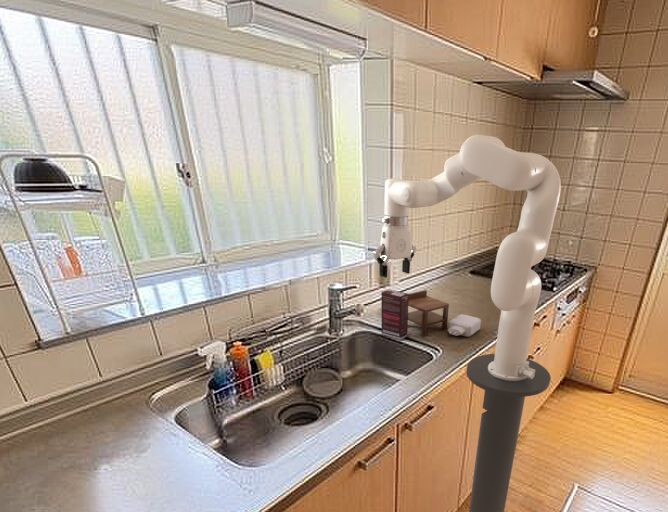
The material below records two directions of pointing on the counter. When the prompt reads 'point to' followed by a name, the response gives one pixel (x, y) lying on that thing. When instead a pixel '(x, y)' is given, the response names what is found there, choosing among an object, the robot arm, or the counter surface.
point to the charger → (464, 325)
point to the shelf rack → (426, 311)
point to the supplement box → (394, 314)
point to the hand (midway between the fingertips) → (394, 274)
